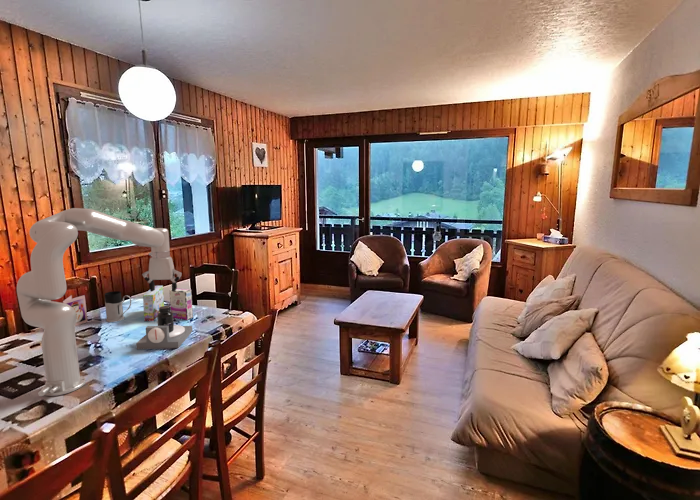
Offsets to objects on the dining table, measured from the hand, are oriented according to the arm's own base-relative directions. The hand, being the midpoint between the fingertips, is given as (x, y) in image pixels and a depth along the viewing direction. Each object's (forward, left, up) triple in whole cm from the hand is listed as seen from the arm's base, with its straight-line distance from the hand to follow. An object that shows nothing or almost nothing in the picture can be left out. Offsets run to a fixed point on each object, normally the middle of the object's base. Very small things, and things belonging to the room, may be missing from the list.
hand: (163, 290), depth 172 cm
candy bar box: (+30, +3, -24) cm, 39 cm away
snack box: (+36, +20, -24) cm, 48 cm away
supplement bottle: (0, 0, -20) cm, 20 cm away
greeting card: (+23, +56, -24) cm, 65 cm away
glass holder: (+30, +36, -24) cm, 53 cm away
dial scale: (-1, 0, -24) cm, 24 cm away
